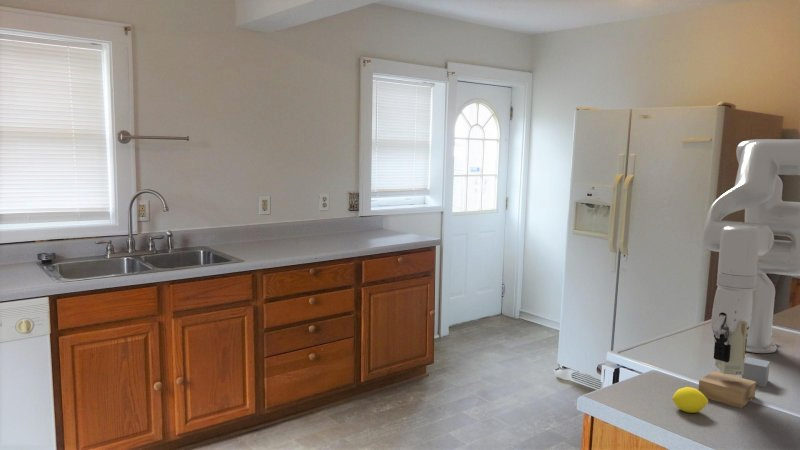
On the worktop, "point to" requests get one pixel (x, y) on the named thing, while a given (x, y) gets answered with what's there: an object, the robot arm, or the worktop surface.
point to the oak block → (727, 388)
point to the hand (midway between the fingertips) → (729, 356)
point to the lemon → (689, 400)
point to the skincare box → (735, 352)
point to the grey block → (756, 370)
